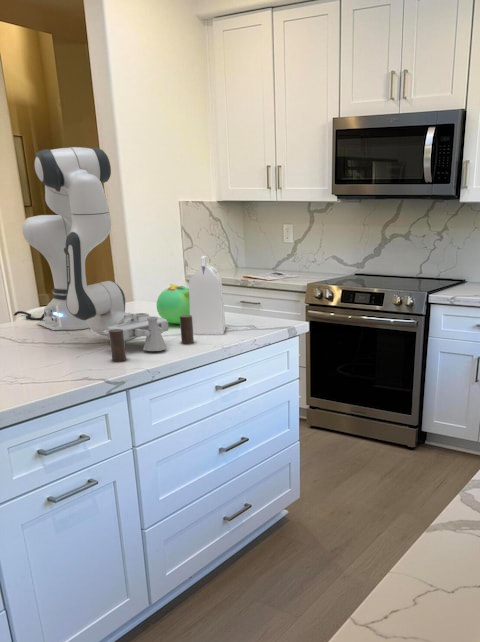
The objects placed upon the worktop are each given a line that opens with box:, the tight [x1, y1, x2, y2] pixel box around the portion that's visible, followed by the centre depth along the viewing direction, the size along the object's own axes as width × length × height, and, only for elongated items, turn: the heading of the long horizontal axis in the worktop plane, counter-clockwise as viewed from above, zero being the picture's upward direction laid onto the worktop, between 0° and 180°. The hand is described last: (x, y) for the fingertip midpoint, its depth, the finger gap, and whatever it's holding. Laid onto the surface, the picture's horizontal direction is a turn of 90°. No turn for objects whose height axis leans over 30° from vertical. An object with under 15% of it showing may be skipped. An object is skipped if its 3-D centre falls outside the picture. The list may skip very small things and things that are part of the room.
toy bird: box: [156, 283, 190, 325], centre depth 230 cm, size 18×17×15 cm
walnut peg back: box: [179, 315, 195, 345], centre depth 202 cm, size 4×4×9 cm
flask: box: [143, 316, 168, 352], centre depth 190 cm, size 7×7×10 cm
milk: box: [188, 255, 226, 335], centre depth 216 cm, size 12×12×26 cm
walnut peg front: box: [108, 329, 127, 363], centre depth 180 cm, size 4×4×9 cm
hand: (155, 332), depth 190 cm, fingers closed on flask, 3 cm apart
